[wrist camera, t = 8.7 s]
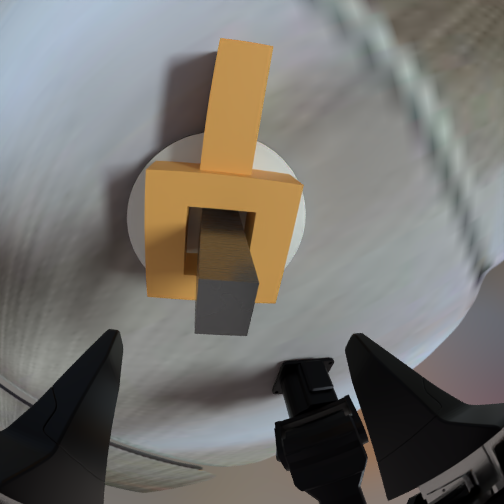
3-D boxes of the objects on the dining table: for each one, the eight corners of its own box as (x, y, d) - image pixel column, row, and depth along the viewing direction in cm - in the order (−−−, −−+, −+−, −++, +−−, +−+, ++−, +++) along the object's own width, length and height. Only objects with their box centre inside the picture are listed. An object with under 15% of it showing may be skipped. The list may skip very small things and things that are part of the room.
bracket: (282, 296, 24) (294, 325, 21) (134, 288, 21) (124, 317, 18) (332, 73, 16) (358, 67, 12) (144, 47, 13) (129, 32, 10)
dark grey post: (231, 246, 20) (247, 335, 12) (198, 243, 20) (194, 333, 12) (237, 207, 19) (259, 283, 11) (202, 203, 18) (198, 278, 10)
